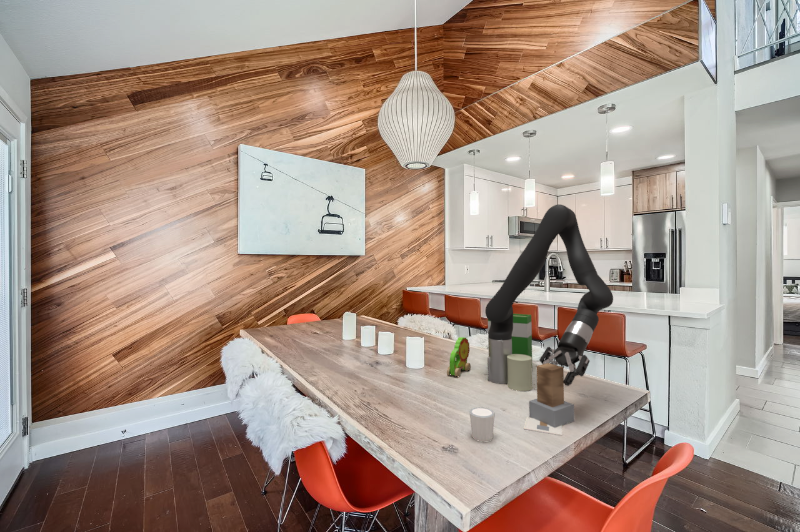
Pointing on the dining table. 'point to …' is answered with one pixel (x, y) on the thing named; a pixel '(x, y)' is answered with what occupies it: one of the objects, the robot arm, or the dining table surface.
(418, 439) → the dining table surface
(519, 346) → the green banded block
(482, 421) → the shot glass
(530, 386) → the can
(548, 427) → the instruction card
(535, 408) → the base block
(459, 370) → the toy lion
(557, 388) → the walnut brick
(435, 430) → the dining table surface
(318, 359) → the dining table surface
